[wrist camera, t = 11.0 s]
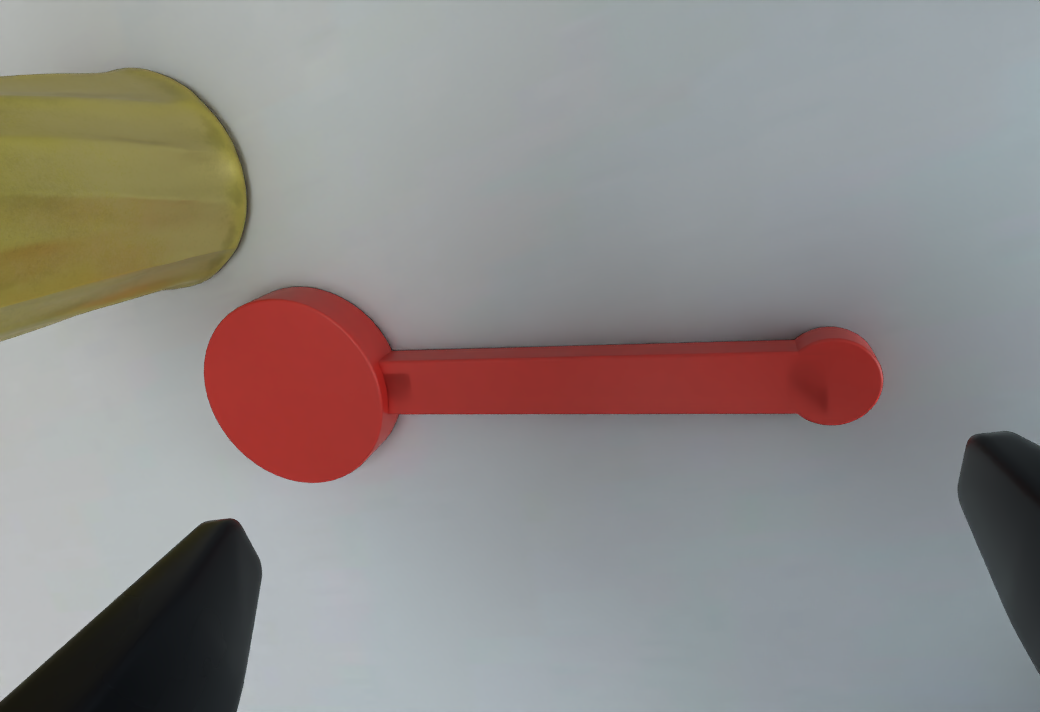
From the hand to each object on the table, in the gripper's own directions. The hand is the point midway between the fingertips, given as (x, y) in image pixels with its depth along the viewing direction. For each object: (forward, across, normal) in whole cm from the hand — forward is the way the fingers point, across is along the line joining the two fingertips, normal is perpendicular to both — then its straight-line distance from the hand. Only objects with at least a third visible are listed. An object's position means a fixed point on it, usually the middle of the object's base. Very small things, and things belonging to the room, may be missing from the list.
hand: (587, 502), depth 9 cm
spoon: (+10, +2, +5) cm, 11 cm away
